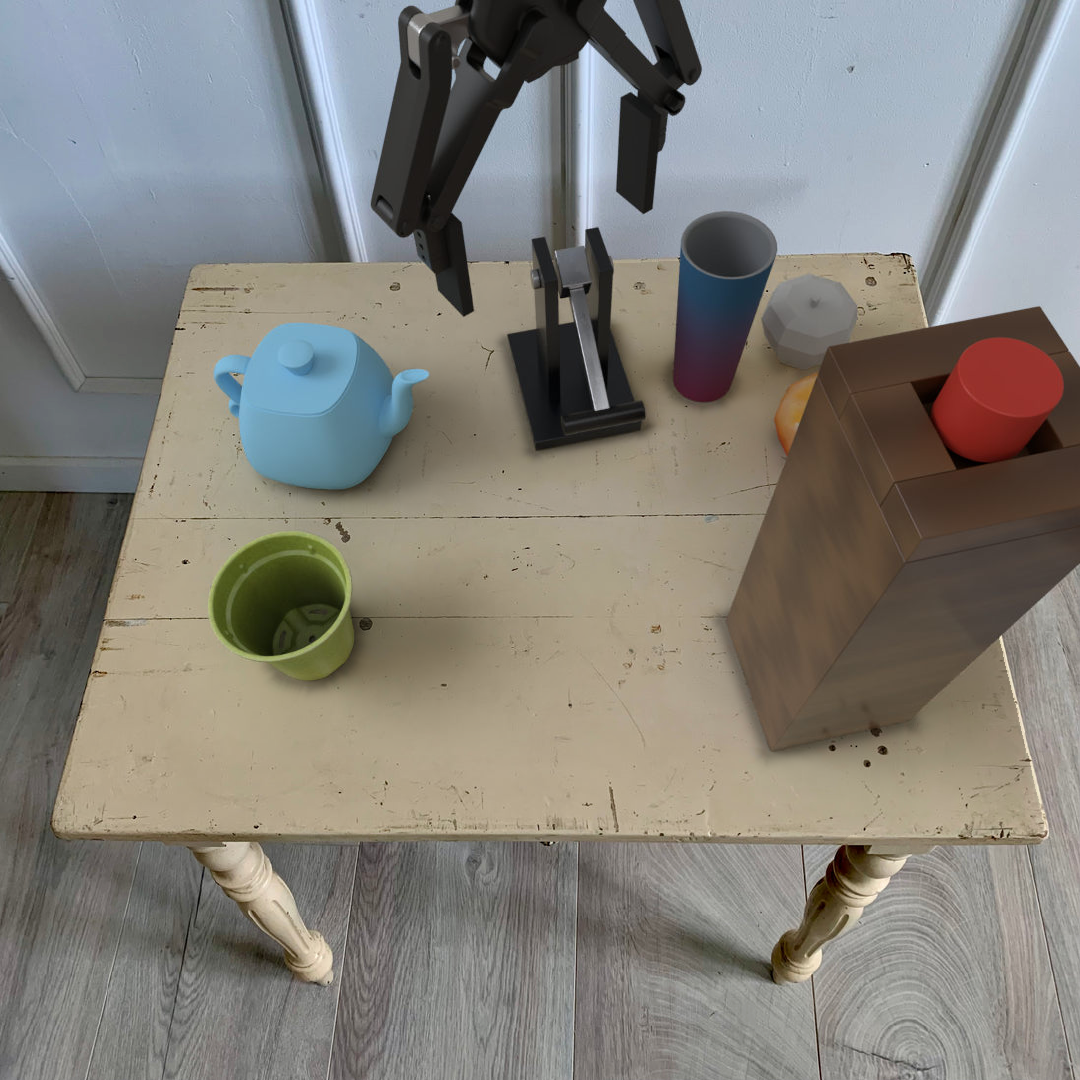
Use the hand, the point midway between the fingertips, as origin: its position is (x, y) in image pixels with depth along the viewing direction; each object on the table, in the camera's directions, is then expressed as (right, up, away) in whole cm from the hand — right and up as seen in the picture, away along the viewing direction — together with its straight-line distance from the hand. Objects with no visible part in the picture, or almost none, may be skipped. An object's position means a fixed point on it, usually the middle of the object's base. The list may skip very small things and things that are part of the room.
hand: (548, 249), depth 54 cm
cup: (+13, -4, +22) cm, 26 cm away
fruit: (+22, -10, +18) cm, 31 cm away
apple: (+22, -1, +23) cm, 32 cm away
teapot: (-17, -9, +20) cm, 28 cm away
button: (+18, -13, -16) cm, 28 cm away
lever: (+3, -3, +12) cm, 12 cm away
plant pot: (-17, -26, +12) cm, 33 cm away
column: (+19, -27, +9) cm, 34 cm away
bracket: (+2, -4, +22) cm, 23 cm away
